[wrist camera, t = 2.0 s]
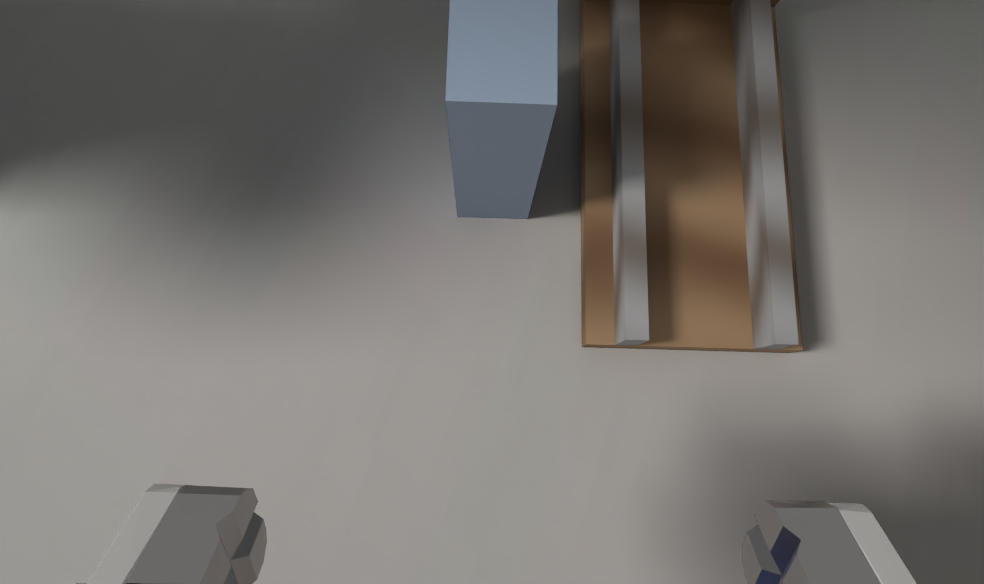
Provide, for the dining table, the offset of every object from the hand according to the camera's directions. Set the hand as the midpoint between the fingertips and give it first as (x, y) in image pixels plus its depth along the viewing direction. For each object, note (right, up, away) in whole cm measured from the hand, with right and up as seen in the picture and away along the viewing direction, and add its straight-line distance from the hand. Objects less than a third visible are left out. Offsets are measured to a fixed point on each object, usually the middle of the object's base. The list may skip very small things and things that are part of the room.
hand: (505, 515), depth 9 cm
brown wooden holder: (+9, +11, +20) cm, 25 cm away
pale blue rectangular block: (0, +11, +20) cm, 23 cm away
